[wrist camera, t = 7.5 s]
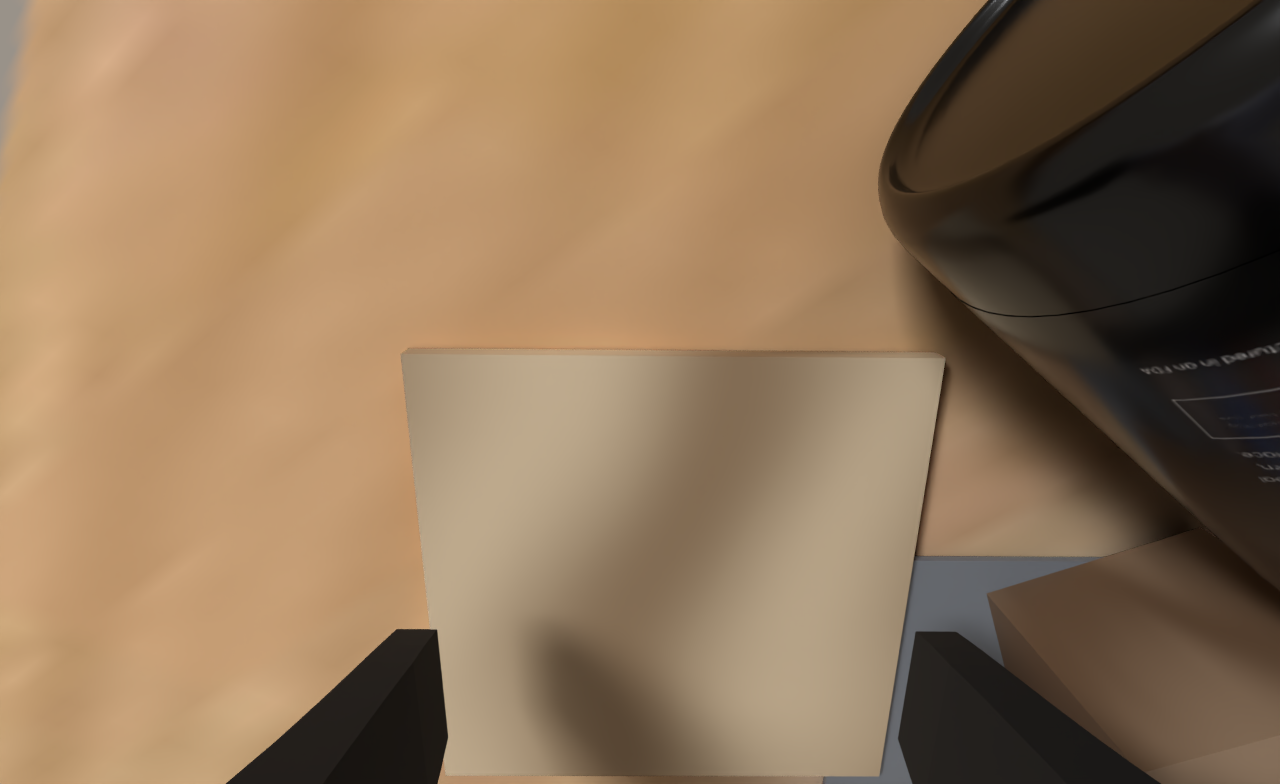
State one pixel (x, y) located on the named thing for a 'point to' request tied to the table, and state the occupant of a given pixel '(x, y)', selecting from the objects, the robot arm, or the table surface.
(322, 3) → the table surface
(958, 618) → the tile
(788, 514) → the pad
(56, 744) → the table surface
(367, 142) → the table surface
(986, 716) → the robot arm
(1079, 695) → the walnut block
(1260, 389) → the supplement bottle
